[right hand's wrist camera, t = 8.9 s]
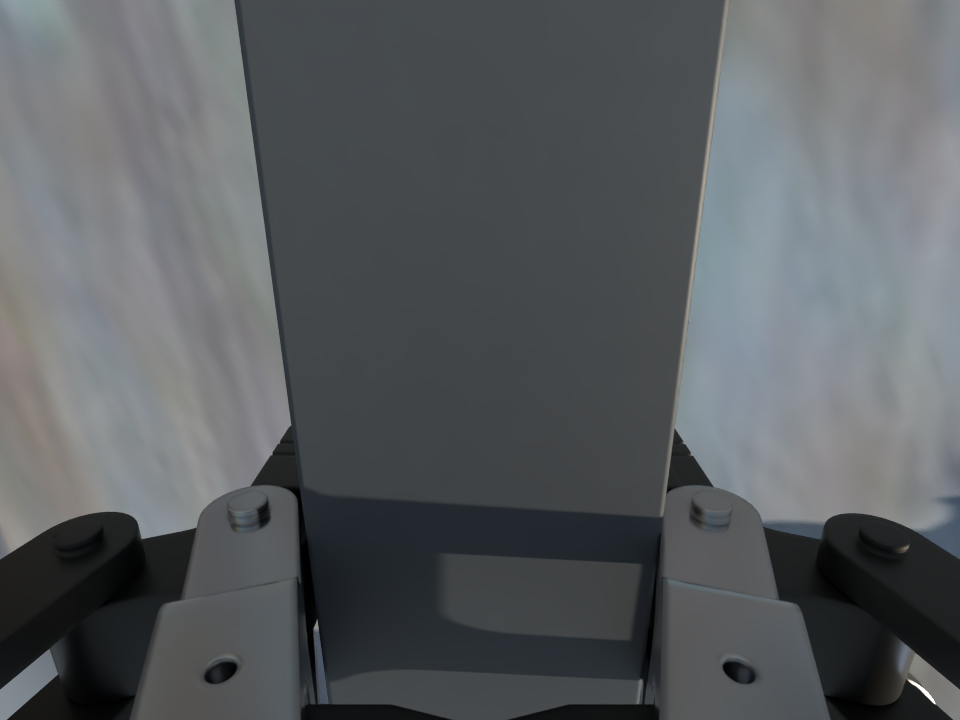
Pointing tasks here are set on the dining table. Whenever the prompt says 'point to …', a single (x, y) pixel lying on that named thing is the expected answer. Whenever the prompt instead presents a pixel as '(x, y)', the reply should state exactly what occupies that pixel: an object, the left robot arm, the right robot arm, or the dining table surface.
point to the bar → (483, 327)
